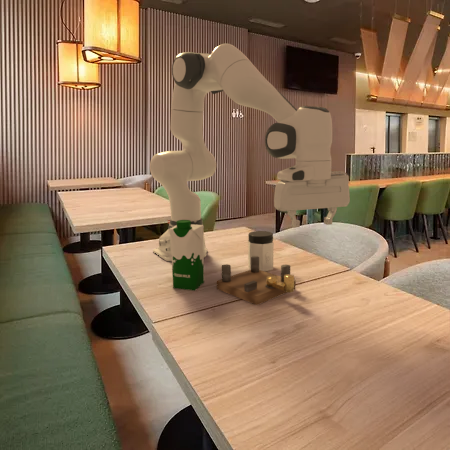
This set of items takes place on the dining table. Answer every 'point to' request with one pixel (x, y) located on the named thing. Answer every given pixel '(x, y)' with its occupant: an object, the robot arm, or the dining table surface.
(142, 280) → the dining table surface
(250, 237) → the jar
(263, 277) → the stool seat
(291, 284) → the gold bone
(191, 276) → the milk carton
